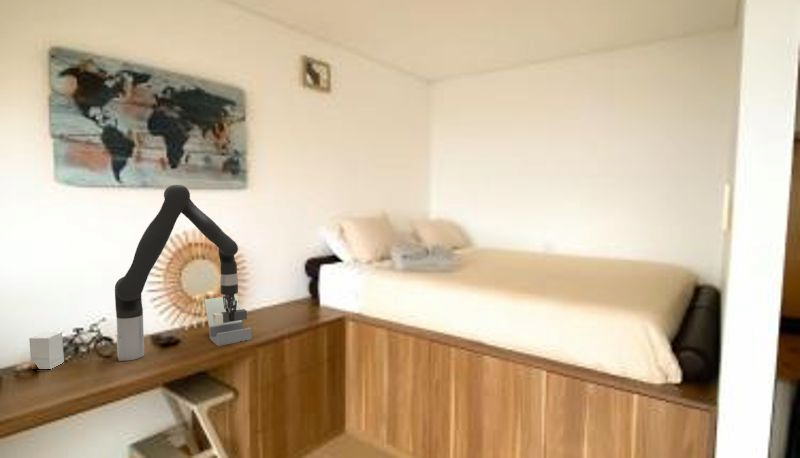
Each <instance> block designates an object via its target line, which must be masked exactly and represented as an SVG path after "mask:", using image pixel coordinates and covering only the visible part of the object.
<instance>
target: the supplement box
mask: <svg viewBox="0 0 800 458" xmlns="http://www.w3.org/2000/svg"><path fill="white" fill-rule="evenodd" d="M28 339H29V352H30V353H29V354H30V364H31V363H35V364H36V365H37V367H38V368H39V369H51V370H53V369H55V368H54V367H56V366H58V365H60V364H62V363H63V362H64V363H65V358H64V356H65V355H64V341H63V332H59V331H58V332H53V331H51V332H49V331H47V332H45V331H43V332H42V333H39V334H37V335H34V336H31V337H29V338H28ZM64 363H63V364H64ZM63 364H62V365H63ZM60 366H61V365H60ZM58 367H59V366H58ZM52 368H53V369H52ZM56 368H57V367H56Z"/></svg>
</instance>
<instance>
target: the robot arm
mask: <svg viewBox="0 0 800 458" xmlns="http://www.w3.org/2000/svg"><path fill="white" fill-rule="evenodd" d="M163 199H164V200H163V203H162V205H161V207H160V210H159V211H158V213H157V214H156V216H155V217H154V218H153V220H151V222H150V223H149V224H148V226H147V227H146V229H145V231H144V232H143V233H142V236H141V238H140V239H139V242H138V244H137V247H136V249H135V253H134V256H133V259H132V263H131V264H130V267H129V268H128V270H127V272H126V273H125V275H124V276H122V277H121V278H120V277H119V279H118V280H117V281H116V282H115V286H114V299H115V317H116V349H117V351H116V353H117V358H118V361H119V362H123V361H126V362H127V361H134V360H137V359H141V358H143V357H144V356H145V335H144V332H145V331H144V310H143V309H144V308H143V302H142V301H143V300H142V293H143V290H144V288H145V286H146V282H147V280H148V279H149V275H150V274H151V271H152V269H153V268H154V266H155V264H156V263H157V261H158V260H159V258H160V256H161V254H162V252H163V251H164V249H165V247H166V245H167V242H168V241H169V238H170V236H171V235H172V232H173V230H174V227H175V225H176V223H177V220H178V218H179V217H180V215H181V214H182V215H183V216H185V218H187V219H188V220H189V221H190V222H191V223H192V224H193V225H194V226H195V227H196V229H198V231H199V232H200V233H202V235H203V236H204V237H205V238H206V239H207V240H208V241H210V242H211V243H213V244H214V245H215V246H216V247H217V248H218V257H219V258H218V259H219V262H220V278H219V279H220V280H219V282H220V283H219V284H220V294H221V295H223V296H222V297H223V303H224V309H225V311H226V312H228V311H229V321H234V313H235V312H236V307H237V300H236V301H235V297H234V296H235V295H237V294H238V293H239V281H238V280H239V278H238V277H239V276H238V265H237V262H236V260H235V255H236V254H237V253H238V251H239V246H238V244H237V243H236V241H234V240H233V239H232V237H230V236H229V235H228V234H226V233H225V232H224V231H223V230H222V229H221V227H219V225H217V223H216V222H214V220H213V219H212V218H210V217H209V216H208V215H207V214H206V213H205V212H204V211H202V210H201V209H200V208H198V206H196V205H195V203H194V202H193V201H192V199H191V192H190V190H189V189H188V188H187V187H186V186H184V185H182V184H174V185H170V186H168V187H167V188H166V189H164V193H163ZM232 308H233V310H232Z"/></svg>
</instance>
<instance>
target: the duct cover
mask: <svg viewBox="0 0 800 458" xmlns="http://www.w3.org/2000/svg"><path fill="white" fill-rule="evenodd" d="M234 297H235V301H236V300H237V307H236V310H241V309H240V308H241V307H240V304H239V299H238V298H239V297H238V295H237V294H234ZM204 304H205V310H206V317H207V324H208V327H212V326H218V325H224V324H230V323H236V322H243V320H239V321H233V322H227V323H221V324H215V323H213V313H221V312H226V311H225V309H224V303H223V296H220V297H213V298H205V299H204ZM232 310H233V308H232Z"/></svg>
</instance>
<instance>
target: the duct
mask: <svg viewBox="0 0 800 458" xmlns="http://www.w3.org/2000/svg"><path fill="white" fill-rule="evenodd" d="M243 324H244V323H243V321H242V322H236V323H230V324H224V325H218V326H212V327H209V326H208V327H209V339H210V340H211V342H213V343H214V344H215V345H216V346H217V347H220V346H225V345H229V344H236V343H240V341H242V342H246V341H245V340H247V341H252V340H251V339H252V338H253V337H252V327H245V328H244V325H243Z"/></svg>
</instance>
